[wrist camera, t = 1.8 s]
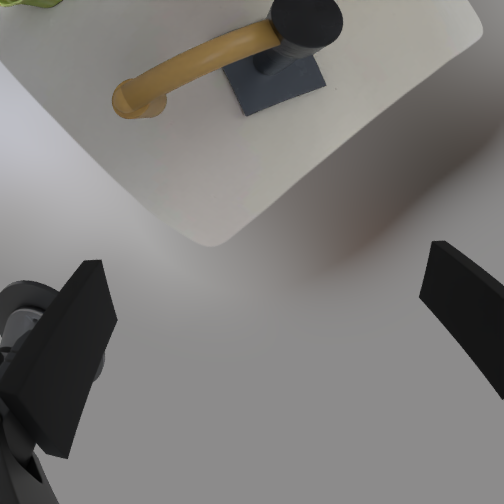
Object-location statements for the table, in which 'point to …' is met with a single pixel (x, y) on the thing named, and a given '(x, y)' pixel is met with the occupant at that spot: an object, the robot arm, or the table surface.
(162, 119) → the table surface
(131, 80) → the spout
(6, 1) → the plant pot
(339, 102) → the table surface
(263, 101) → the square base plate
